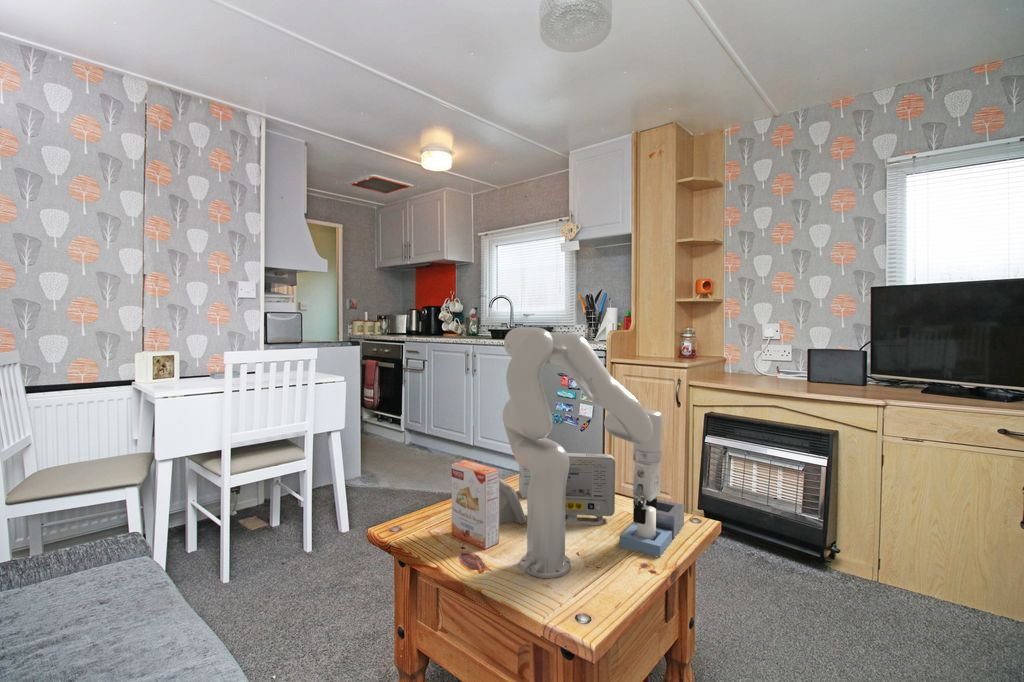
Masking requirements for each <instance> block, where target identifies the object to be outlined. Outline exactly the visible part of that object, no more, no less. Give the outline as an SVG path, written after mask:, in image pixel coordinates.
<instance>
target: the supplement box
mask: <svg viewBox="0 0 1024 682" xmlns="http://www.w3.org/2000/svg"><path fill="white" fill-rule="evenodd" d="M530 481H531V473H530V472H529V471H528V470H526V469H524V468H523V467H522V466H521V465H519V464H518V492H519V494H520V496H521V498H522V499H527V494H528V487H529V484H530Z"/></svg>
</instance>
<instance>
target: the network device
mask: <svg viewBox="0 0 1024 682" xmlns="http://www.w3.org/2000/svg"><path fill="white" fill-rule="evenodd" d="M567 454H568V457H569V472H568V477H567V483H566V498H565V505H566V508H565V515H566V516H567V519H565V525H584V526H600V525H602V524H604V517H612V516H614V514H615V511H616V510H615V508H616V505H615V502H616V492H615V491H616V460H615V458H614V456H613V455H612V454H608V453H607V454H606V453H583V452H582V453H579V452H578V453H577V452H575V453H574V452H567ZM578 516H592V517H593V516H594V517H595V516H596V517H598V518H597V519H598V521H585V520H584V521H583V520H582V521H581V520H578Z"/></svg>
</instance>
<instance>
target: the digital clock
mask: <svg viewBox="0 0 1024 682" xmlns="http://www.w3.org/2000/svg"><path fill="white" fill-rule="evenodd" d="M514 521H515V522H517V524H520V525H523V524H525V523H526V521H527V518H526V515H525V513H524V510H523V507H522V505H521V502H520V498H519V497H518V493H517V492H516V490H515V489H514V488H512V487H511V486H510V485H509V484H508V483H507V482H505V481H504V479H502V478H501V477H499V523H500V524H508V523H507V522H509V523H514Z"/></svg>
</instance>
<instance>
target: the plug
mask: <svg viewBox="0 0 1024 682" xmlns="http://www.w3.org/2000/svg"><path fill="white" fill-rule="evenodd" d="M645 509H646V523H645V524H640V523H637V537H640V538H644V539H648V540H652V541H655V540H656V509H655V508H654V507H651V506H646V505H645Z"/></svg>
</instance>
